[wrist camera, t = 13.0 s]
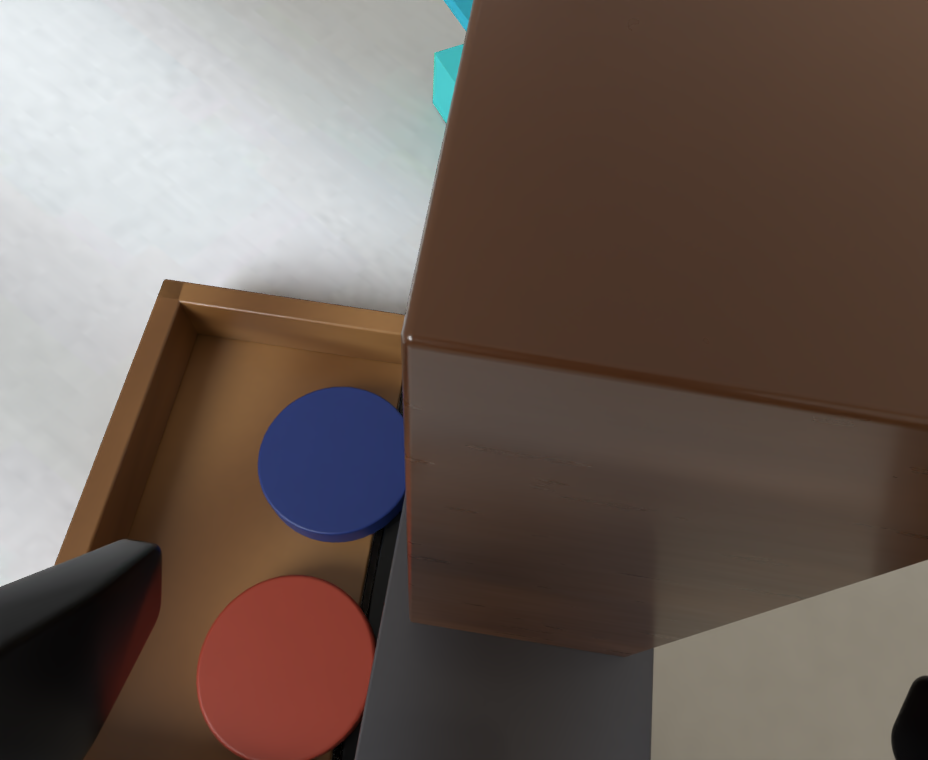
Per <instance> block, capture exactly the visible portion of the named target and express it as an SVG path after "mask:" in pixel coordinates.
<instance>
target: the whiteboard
mask: <svg viewBox="0 0 928 760" xmlns="http://www.w3.org/2000/svg"><path fill="white" fill-rule="evenodd" d="M401 513H402V510H401V511H400V512H399V513H398V515H397V516H396V517H395V518H394V519H393V520H392V521H391V522H389V523H388V524H387V525H386V526H384V528H383V533H382V538H381V544H380V549H379V555H378V560H377V565H376V571H375V576H374V582H373V587H372V592H371V598H370V603H369V608H368V614H367V619H368V621H369V623H370V625H371V627H372V629H373V632H374V635H375V638H376V642H377V638H378V633H379V628H380V623H381V618H382V612H383V607H384V602H385V597H386V591H387V586H388V581H389V576H390V571H391V565H392V560H393V555H394V550H395V544H396V539H397V534H398V529H399V524H400V518H401ZM924 675H927V676H928V560H926V561H923V562H919V563H916V564H913V565H910V566H907V567H904V568H901V569H898V570H895V571H891V572H888V573H885V574H882V575H879V576H876V577H873V578H870V579H867V580H863V581H860V582H857V583H854V584H851V585H848V586H845V587H842V588H839V589H835V590H832V591H829V592H826V593H823V594H820V595H817V596H814V597H811V598H807V599H804V600H801V601H798V602H795V603H792V604H789V605H786V606H783V607H779V608H776V609H773V610H770V611H767V612H764V613H761V614H758V615H755V616H751V617H748V618H745V619H742V620H739V621H736V622H733V623H730V624H727V625H723V626H720V627H717V628H714V629H711V630H708V631H705V632H702V633H699V634H695V635H692V636H689V637H686V638H683V639H680V640H677V641H674V642H671V643H667V644H664V645H661V646H658V647H655V648H654V665H653V701H652V737H651V760H895V757H894V754H893V751H892V745H891V733H892V728H893V725H894V723H895V720H896V718H897V716H898V714H899V711H900V709H901V707H902V705H903V702H904V700H905V698H906V696H907V693H908V691H909V689H910V687H911V685H912V683H913V681H914V680H916V679H917V678H918V677H920V676H924ZM361 722H362V720H361ZM361 722H360V723H359V724H358V726H357V727H356V728H355V730H354V731H353V732H352V733H351V734H350V735H349V736H348V737H347V738H346V739H345V740H344V743H343V749H342V754H341V759H340V760H354V758H355V753H356V748H357V743H358V738H359V732H360V727H361Z"/></svg>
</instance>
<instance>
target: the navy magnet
mask: <svg viewBox="0 0 928 760" xmlns="http://www.w3.org/2000/svg"><path fill="white" fill-rule="evenodd" d="M258 476H259V481H260V485H261V488H262V491H263V494H264V495H265V497H266V499H267V501H268V503H269V504H270V505H271V507H272V508H273V509H274V511H275V512H276V513H277V515H278V516H279V517H280V519H281V520H282V521H283V522H284V523H285V524H286V525H288V526H289V527H290V528H292V529H293V530H294V531H296V532H298V533H299V534H301V535H303V536H306V537H308V538H311V539H314V540H318V541H322V542H332V543H335V542H348V541H354V540H357V539H361V538H364V537H366V536H369V535H371V534H373V533H375V532H377V531H378V530H380V529H382V528H383V527H384V526H386V525H387V524H388V523H389V522H391V521H392V520H393V519H394V518H395V517H396V516H397V515H398V513H399V512H400V511H401V510H402V508H403V503H404V497H405V460H404V427H403V416H402V414H401V413H400V412H399V411H398V410H397V409H396V408H395V407H394V406H393V405H392V404H391V403H390V402H388V401H387V400H385V399H384V398H382V397H380V396H378V395H376V394H374V393H372V392H369V391H366V390H363V389H359V388H354V387H330V388H324V389H320V390H316V391H313V392H311V393H308V394H306V395H304V396H302V397H300V398H298V399H297V400H295V401H294V402H292V403H291V404H289V405H288V406H287V407H286V408H285V409H283V410H282V411H281V412H280V413H279V415H278V416H277V417H276V418H275V419H274V420H273V422H272V423H271V425H270V426H269V428H268V430H267V432H266V433H265V435H264V438H263V440H262V443H261V446H260V450H259V455H258Z"/></svg>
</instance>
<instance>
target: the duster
mask: <svg viewBox="0 0 928 760" xmlns="http://www.w3.org/2000/svg"><path fill="white" fill-rule="evenodd" d="M401 360H402V394H403V427H404V460H405V497H404V503H403V508H402V513H401V518H400V524H399V529H398V534H397V539H396V544H395V550H394V555H393V560H392V565H391V571H390V576H389V581H388V586H387V591H386V597H385V602H384V607H383V612H382V618H381V623H380V628H379V633H378V638H377V644H376V649H375V654H374V659H373V664H372V670H371V675H370V680H369V685H368V691H367V696H366V701H365V706H364V711H363V717H362V722H361V727H360V732H359V738H358V743H357V748H356V753H355V758H354V760H651V737H652V701H653V665H654V648H655V647H658V646H661V645H664V644H667V643H671V642H674V641H677V640H680V639H683V638H686V637H689V636H692V635H695V634H699V633H702V632H705V631H708V630H711V629H714V628H717V627H720V626H723V625H727V624H730V623H733V622H736V621H739V620H742V619H745V618H748V617H751V616H755V615H758V614H761V613H764V612H767V611H770V610H773V609H776V608H779V607H783V606H786V605H789V604H792V603H795V602H798V601H801V600H804V599H807V598H811V597H814V596H817V595H820V594H823V593H826V592H829V591H832V590H835V589H839V588H842V587H845V586H848V585H851V584H854V583H857V582H860V581H863V580H867V579H870V578H873V577H876V576H879V575H882V574H885V573H888V572H891V571H895V570H898V569H901V568H904V567H907V566H910V565H913V564H916V563H919V562H923V561H926V560H928V0H473V4H472V8H471V13H470V18H469V22H468V27H467V32H466V36H465V41H464V45H463V50H462V55H461V59H460V64H459V68H458V73H457V78H456V82H455V87H454V91H453V96H452V101H451V105H450V110H449V115H448V119H447V124H446V128H445V133H444V138H443V142H442V147H441V151H440V156H439V161H438V165H437V170H436V175H435V179H434V184H433V188H432V193H431V198H430V202H429V207H428V211H427V216H426V221H425V225H424V230H423V234H422V239H421V244H420V248H419V253H418V258H417V262H416V267H415V271H414V276H413V281H412V285H411V290H410V294H409V299H408V304H407V308H406V313H405V317H404V322H403V327H402V331H401Z"/></svg>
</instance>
